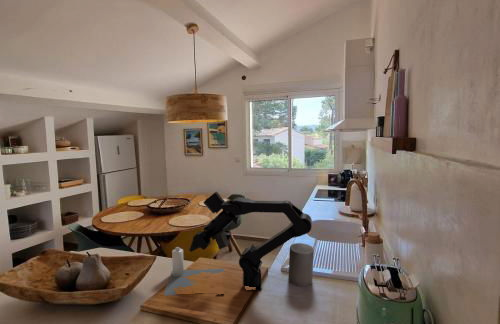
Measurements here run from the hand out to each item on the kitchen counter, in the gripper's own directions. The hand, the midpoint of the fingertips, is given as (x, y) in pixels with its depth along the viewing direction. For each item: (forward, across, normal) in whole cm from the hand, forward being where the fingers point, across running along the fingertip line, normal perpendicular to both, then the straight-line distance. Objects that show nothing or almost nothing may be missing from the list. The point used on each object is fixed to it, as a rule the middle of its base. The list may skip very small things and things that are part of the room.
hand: (195, 246), depth 111 cm
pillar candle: (-20, +9, -40) cm, 45 cm away
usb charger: (+14, 0, -4) cm, 15 cm away
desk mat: (+8, -3, -11) cm, 14 cm away
